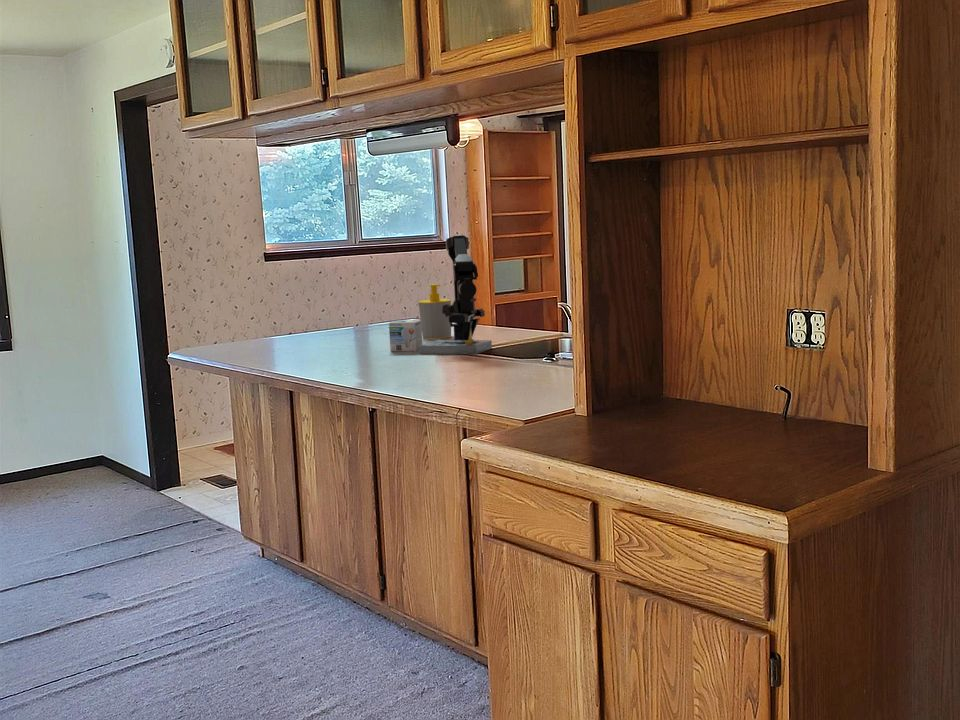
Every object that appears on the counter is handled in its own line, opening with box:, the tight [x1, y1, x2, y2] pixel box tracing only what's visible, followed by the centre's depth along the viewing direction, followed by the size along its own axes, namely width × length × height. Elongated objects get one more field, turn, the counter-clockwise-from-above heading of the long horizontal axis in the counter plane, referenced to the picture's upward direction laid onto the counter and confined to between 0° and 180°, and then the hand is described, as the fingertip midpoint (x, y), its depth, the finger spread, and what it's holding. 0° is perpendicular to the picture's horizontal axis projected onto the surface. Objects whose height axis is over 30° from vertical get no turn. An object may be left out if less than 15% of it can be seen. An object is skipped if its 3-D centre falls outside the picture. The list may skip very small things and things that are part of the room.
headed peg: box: [465, 331, 473, 344], centre depth 337 cm, size 4×4×9 cm
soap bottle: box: [418, 283, 452, 340], centre depth 381 cm, size 13×13×21 cm
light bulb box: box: [388, 319, 424, 352], centre depth 349 cm, size 11×7×11 cm, turn 73°
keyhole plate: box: [419, 339, 493, 355], centre depth 340 cm, size 14×22×3 cm, turn 67°
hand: (468, 339), depth 337 cm, fingers closed on headed peg, 2 cm apart
